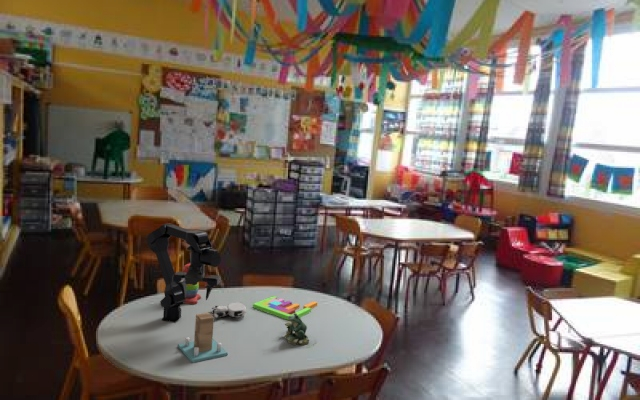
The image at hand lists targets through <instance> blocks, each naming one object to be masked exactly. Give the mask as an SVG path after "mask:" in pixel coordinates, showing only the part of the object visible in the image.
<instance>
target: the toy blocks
mask: <svg viewBox="0 0 640 400" xmlns="http://www.w3.org/2000/svg"><path fill="white" fill-rule="evenodd" d="M315 306H316V307H318V302H317V301H311V302H308V303H307V304H304V305H303V306H302V309H301V310H298V309H300V304H299V303H293V302H292V301H291V300H288V301H285V298H279V299H278V296H275V295H274V296H271V297H268V298H265V299H263V300H259V301H257V302H255V303H253V304H252V308H254V309H255V310H258V311H261V312H265V313H268V314H271V315H272V316H276V317H279V318H282V319H285V320H288V321H290V320H289V319H288V317H289V316H291V315H294V313H296V314H297V315H298V317H300V318H301V317H303V316H305V314H306V315H307V313H308V314H310V313H312V309H313V308H315ZM296 310H298V311H296ZM309 312H310V313H309Z"/></svg>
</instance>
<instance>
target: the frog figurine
mask: <svg viewBox="0 0 640 400" xmlns="http://www.w3.org/2000/svg"><path fill="white" fill-rule="evenodd" d="M288 319H289V320H288V321H287V322H285V323H284V326H286V329H287V331H286V334H285V336H284V337H285V339H286V340H287V342H288V344H291V345H294V346H295V345H298V346H299V345H300V346H305V345H308V344H309V342H310V339H309V337H308V335H307V334H306V331H307V329H308V327H307V324H306V323H304V321H303V320H302V318H301V317H298V315H297V314H296V312H295V313H294V315H291V316H289V317H288ZM317 343H318V342H317V341H315V342H314V343H313V344H312V346H314V345H315V344H317ZM308 348H311V346H309V347H308V346H307V349H308Z"/></svg>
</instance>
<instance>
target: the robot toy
mask: <svg viewBox="0 0 640 400" xmlns="http://www.w3.org/2000/svg"><path fill="white" fill-rule="evenodd" d="M211 309H212V311H211V313H212V314H213V317H214V318H222V317H225V316H228V315H229V316H230V317H234V318H238V319H239V318H241V317H243V316H245V315H246V314H247V308H246V305H245V304H243V301H240V302H230V303H229V304H228V305H227V306H226V305H214V306H211Z"/></svg>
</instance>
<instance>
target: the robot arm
mask: <svg viewBox="0 0 640 400" xmlns="http://www.w3.org/2000/svg"><path fill="white" fill-rule="evenodd" d="M171 237H174V238H177V239H181V240H183V241H185V243H186V244H187V245H189V246H188V247H187V248H186V249H187V251H190V259H189V260H190V261H189V263H190V265H189V270H188V272H187V273H186V272H183V271H177V272H175V270H174V267H173V264H172V261H171V258H170V254H169V252H168V247H169V243H170V242H169V239H170V238H171ZM146 243H147V244H148V247H149V249H150V250H151V251H152V252H153V253H154V254H155V256H156V259H157V263H158V265H159V268H160V272H161V274H162V277H163V281H164V284H165V287H164V297H163V298H162V299H161V300H160V301H159V303H160V306H161V307H162V308H163V315H162V318H161V321H162V322H163V321H164V322H173V323H177V322H178V321H179V320H180V319H181V318H182V307H181V305H184V304H185V303H184V301H185V299H186V291H187V284H192V285H196V284H197V283H198V284H199V283H201V282H202V283H205V282H206V283H207V285H206V293H205V301H207V300H208V299H209V298H210V294H211V292H212V290H213V288H215V287H216V286H218V285H219V284H220V283H221V279H222V277H221V276H220V275H216V274H215V275H214V274H211V275H210V276H205V275H206V274H205V266H209V267H212V268H217V267H218V266H220V264H221V261H222V257H221V254H220V253H218V252H219V251H218V249H214V246H213V244H212V242H211V240H210V238H209V235H208V234H207V232H206V231H204V230H190V229H187V228H185V227H183V226H182V227H181V226H178V225H176V224H173V223H170V222H169V223H164V224H162V225H160V226H159V227H158V228H157V229H154V230H153V231H151V232H150V233H148V235H147V237H146Z"/></svg>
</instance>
